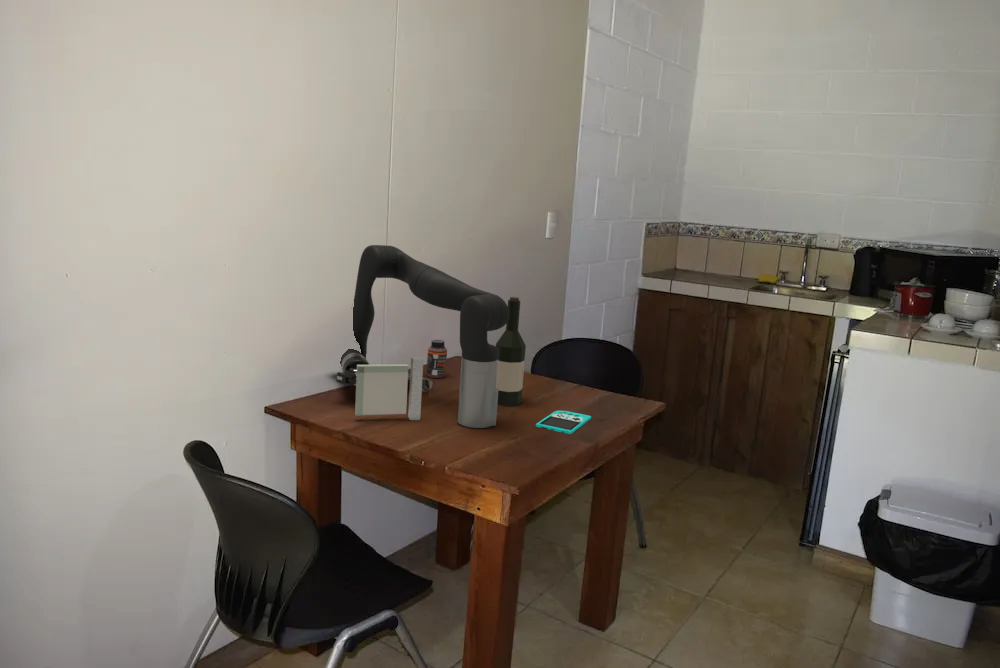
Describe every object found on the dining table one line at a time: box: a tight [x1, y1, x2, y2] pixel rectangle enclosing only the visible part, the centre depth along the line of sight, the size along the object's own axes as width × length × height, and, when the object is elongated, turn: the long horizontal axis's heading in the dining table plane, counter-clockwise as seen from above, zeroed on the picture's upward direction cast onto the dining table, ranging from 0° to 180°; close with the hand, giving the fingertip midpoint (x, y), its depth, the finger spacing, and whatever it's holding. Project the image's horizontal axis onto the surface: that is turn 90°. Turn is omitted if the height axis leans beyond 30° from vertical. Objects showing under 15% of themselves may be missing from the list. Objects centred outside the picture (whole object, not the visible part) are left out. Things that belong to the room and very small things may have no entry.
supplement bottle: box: [426, 339, 448, 379], centre depth 240 cm, size 6×6×11 cm
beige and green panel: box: [354, 363, 410, 417], centre depth 195 cm, size 13×2×13 cm, turn 108°
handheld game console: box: [535, 410, 592, 435], centre depth 205 cm, size 10×16×1 cm, turn 154°
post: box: [407, 356, 424, 421], centre depth 198 cm, size 3×3×16 cm
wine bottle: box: [495, 296, 526, 407], centre depth 217 cm, size 8×8×30 cm
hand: (364, 386), depth 200 cm, fingers closed
